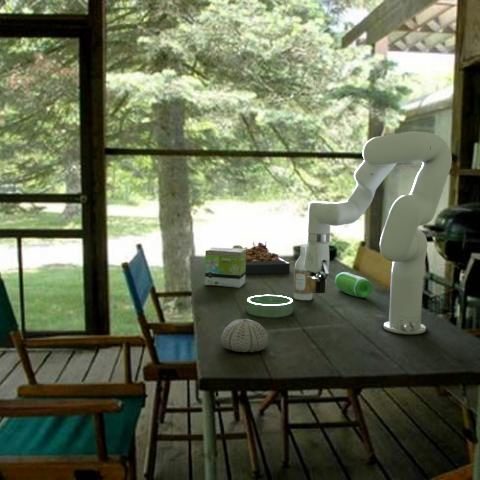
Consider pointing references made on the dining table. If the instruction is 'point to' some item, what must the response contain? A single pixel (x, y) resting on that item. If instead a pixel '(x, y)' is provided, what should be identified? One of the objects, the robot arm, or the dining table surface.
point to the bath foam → (301, 277)
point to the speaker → (353, 284)
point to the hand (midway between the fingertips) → (316, 290)
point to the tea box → (225, 267)
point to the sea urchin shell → (244, 336)
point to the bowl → (270, 306)
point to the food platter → (263, 261)
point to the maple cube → (313, 284)
